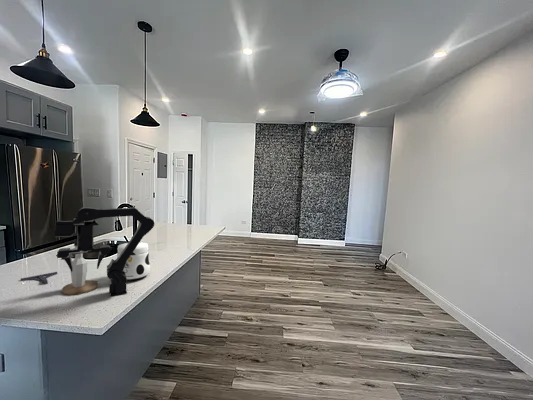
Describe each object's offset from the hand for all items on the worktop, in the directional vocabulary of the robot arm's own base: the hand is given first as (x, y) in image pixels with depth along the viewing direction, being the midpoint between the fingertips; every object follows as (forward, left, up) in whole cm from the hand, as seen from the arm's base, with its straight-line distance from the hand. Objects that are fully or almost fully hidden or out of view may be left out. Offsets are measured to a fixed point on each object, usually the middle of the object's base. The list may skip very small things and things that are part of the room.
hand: (85, 270), depth 109 cm
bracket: (+19, -34, -14) cm, 41 cm away
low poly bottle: (+3, -14, -12) cm, 18 cm away
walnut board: (+2, -13, -13) cm, 18 cm away
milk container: (-21, -19, -13) cm, 31 cm away
